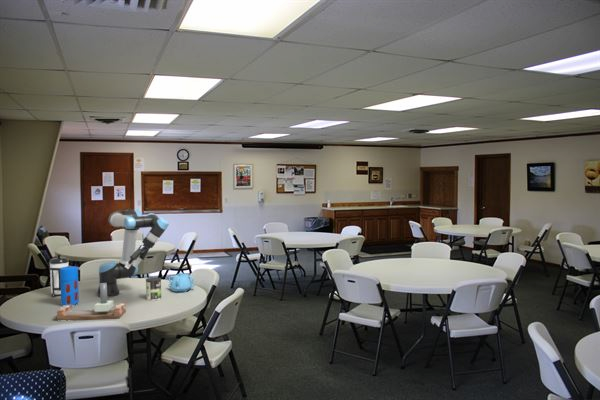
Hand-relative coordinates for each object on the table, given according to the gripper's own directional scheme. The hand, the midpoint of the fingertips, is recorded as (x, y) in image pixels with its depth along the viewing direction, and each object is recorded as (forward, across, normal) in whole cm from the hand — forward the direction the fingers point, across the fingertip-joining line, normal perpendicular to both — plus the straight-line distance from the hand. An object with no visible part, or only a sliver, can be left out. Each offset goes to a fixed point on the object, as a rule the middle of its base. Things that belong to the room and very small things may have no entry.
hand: (130, 267), depth 290 cm
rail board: (+36, -5, -1) cm, 37 cm away
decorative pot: (+6, +56, -27) cm, 63 cm away
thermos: (+50, +22, +24) cm, 59 cm away
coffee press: (+58, +47, +42) cm, 86 cm away
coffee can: (+17, +34, -18) cm, 42 cm away
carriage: (+29, -5, -4) cm, 29 cm away
